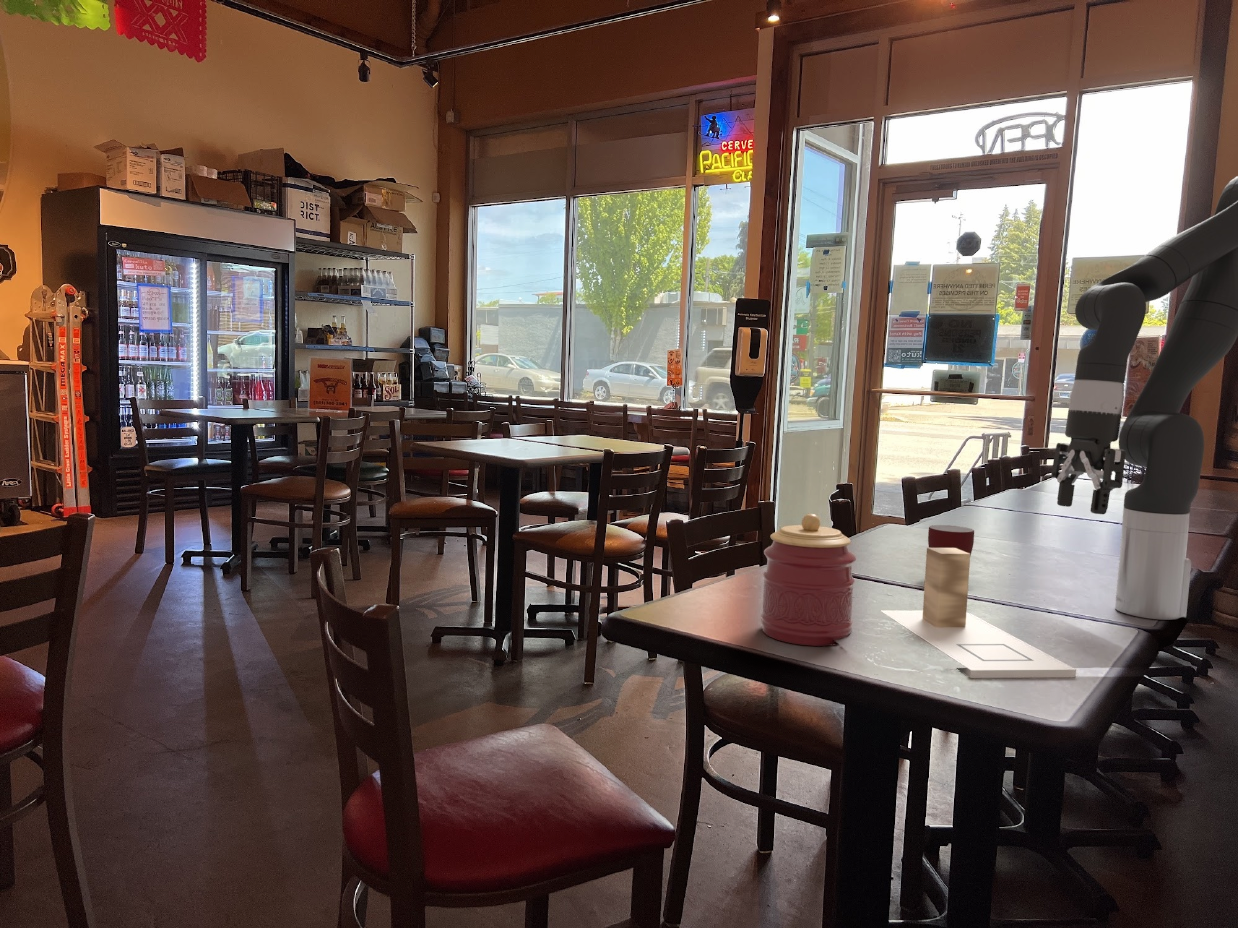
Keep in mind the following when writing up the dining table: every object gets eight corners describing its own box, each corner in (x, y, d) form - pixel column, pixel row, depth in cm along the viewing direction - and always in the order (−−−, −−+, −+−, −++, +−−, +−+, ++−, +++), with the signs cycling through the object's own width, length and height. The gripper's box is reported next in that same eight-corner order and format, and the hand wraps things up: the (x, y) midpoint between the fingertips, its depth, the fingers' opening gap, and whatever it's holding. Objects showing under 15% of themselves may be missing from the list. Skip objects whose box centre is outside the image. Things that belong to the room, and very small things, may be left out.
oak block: (950, 618, 130) (955, 547, 129) (965, 626, 125) (970, 553, 124) (922, 618, 129) (926, 547, 128) (936, 626, 125) (941, 553, 124)
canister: (775, 616, 132) (780, 504, 130) (860, 630, 126) (866, 512, 124) (748, 637, 120) (753, 515, 118) (840, 653, 114) (847, 524, 113)
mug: (936, 571, 168) (939, 522, 167) (979, 578, 164) (982, 527, 163) (919, 580, 160) (923, 528, 159) (964, 587, 155) (967, 533, 154)
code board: (963, 616, 135) (964, 610, 135) (1075, 677, 107) (1076, 669, 107) (879, 616, 133) (879, 610, 133) (970, 678, 106) (971, 670, 106)
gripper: (1148, 414, 129) (1132, 518, 130) (1087, 411, 143) (1074, 505, 145) (1102, 409, 128) (1087, 514, 130) (1046, 406, 142) (1033, 501, 144)
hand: (1080, 509), depth 137 cm, fingers open, 8 cm apart
